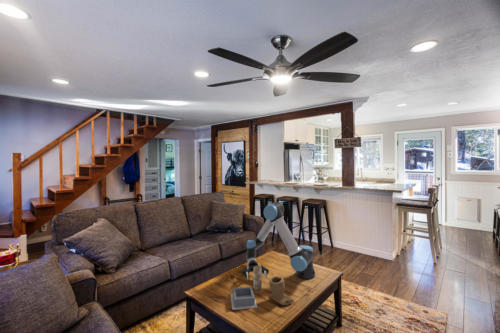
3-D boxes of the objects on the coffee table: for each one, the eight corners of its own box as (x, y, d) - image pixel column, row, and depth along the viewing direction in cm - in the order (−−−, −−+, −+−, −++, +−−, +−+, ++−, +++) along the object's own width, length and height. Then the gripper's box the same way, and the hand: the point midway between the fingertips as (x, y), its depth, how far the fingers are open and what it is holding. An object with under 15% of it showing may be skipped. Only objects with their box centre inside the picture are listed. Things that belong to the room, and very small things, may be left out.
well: (253, 293, 168) (253, 285, 168) (257, 307, 152) (257, 299, 152) (230, 295, 166) (230, 287, 165) (232, 309, 150) (232, 301, 150)
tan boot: (265, 298, 162) (265, 276, 161) (278, 292, 169) (278, 271, 168) (281, 310, 150) (281, 286, 149) (294, 303, 157) (294, 280, 156)
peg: (260, 285, 178) (260, 265, 177) (262, 290, 172) (262, 269, 171) (252, 286, 177) (252, 266, 176) (254, 290, 171) (254, 270, 170)
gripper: (267, 267, 196) (274, 281, 175) (237, 269, 193) (240, 283, 172) (267, 258, 196) (274, 271, 175) (237, 260, 192) (240, 273, 171)
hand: (257, 277), depth 173 cm, fingers open, 13 cm apart
